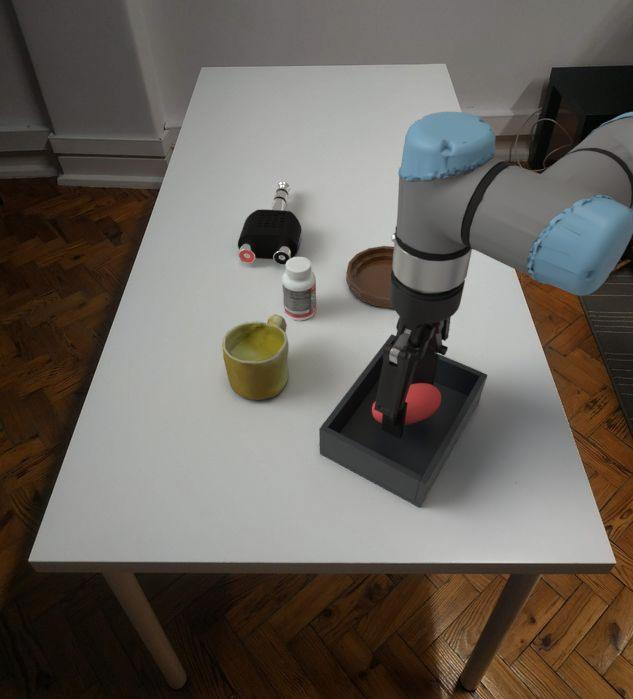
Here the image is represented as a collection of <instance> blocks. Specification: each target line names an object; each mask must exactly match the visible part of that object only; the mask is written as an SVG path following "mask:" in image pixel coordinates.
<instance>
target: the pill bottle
mask: <svg viewBox="0 0 633 699" xmlns="http://www.w3.org/2000/svg"><path fill="white" fill-rule="evenodd" d="M281 285H282V288H281V289H282V299H283V311H284V314H285V315H286V316H287V318H289V319H291V320H294V321H298V322H299V321H306V320H309V319H311V318H312V317H313V316H314V315H315V314H316V311H317V278H316V275H315V272H314V271H312V263H311V261H310V259H308V258H307V257H305V256H294V257H293V258H291V259H289V260H288V261H287V262H286V265H285V271H284V272H283V274H282V277H281Z"/></svg>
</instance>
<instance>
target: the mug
mask: <svg viewBox="0 0 633 699" xmlns="http://www.w3.org/2000/svg"><path fill="white" fill-rule="evenodd" d="M287 326H288V324H287V321H286V319H285V318H284V317H283V316H282V315H278V314H276V313H274V314H272V315H271V316H269V318H268V319H267V322H263V321H246V322H243V323H239V324H238V325H235V326H234V327H232V328H231V329H229V330H228V331H227V332H226V333H225V334H224V335H223V338H222V344H221V345H222V358H223V361H224V366H225V370H226V374H227V379H228V382H229V385H230V387H231V389H232V390H233V391H234V393H235V394H237V395H238V396H239V397H241V398H244V399H246V400H255V401H261V400H266V399H271V398H274V397H276V396H277V395H279V394H280V393H281V391H283V389H284V388H285V386H286V384H287V382H288V378H289V371H288V370H289V369H288V359H289V340H288V336H287V332H286V331H287Z"/></svg>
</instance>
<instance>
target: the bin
mask: <svg viewBox="0 0 633 699" xmlns="http://www.w3.org/2000/svg"><path fill="white" fill-rule="evenodd" d="M395 337H396V335H395V334H393V333H391V334H390V335H389V337H388V338H387V339H386V340H385V343H383V345H382V346H381V347H380V349H379V350H378V351H377V353H375V355H374V357H373V358H372V359H371V360H370V362H369V363H368V364H367V365H366V367H365V368H364V369H363V371H362V372H361V373H360V374H359V376H358V377H357V378H356V380H355V381H354V383H353V384H352V385H351V387H350V388H349V389H348V391H347V392H346V393H345V394H344V396H343V397H342V399H341V400H340V401H339V402H338V403H337V405H336V406H335V408H334V409H333V410H332V412H331V413H330V414H329V415H328V417H327V418H326V420H325V421H324V422H323V423H322V425H320V427H319V429H318V430H319V432H318V434H319V435H318V437H319V454H320V455H321V456H323V457H325V458H327V459H328V460H330V461H332V462H334V463H336V464H338V465H340V466H342V467H344V468H345V469H347V470H349V471H351V472H353V473H354V474H356V475H358V476H360V477H362V478H364V479H365V480H367V481H369V482H371V483H373V484H374V485H376V486H379V487H380V488H381V489H384V490H386V491H387V492H389V493H392V494H393V495H395V496H397V497H398V498H400V499H402V500H404V501H406V502H408V503H410V504H411V505H414V506H415V507H418V509H419V508H421V507H422V505H423V504H424V501H425V500H426V499H427V496H428V494H429V492H430V491H431V489H432V487H433V486H434V484H435V482H436V479H437V478H438V476H439V475H440V473H441V471H442V469H443V467H444V465H445V463H446V462H447V460H448V458H449V456H450V454H451V452H452V451H453V449H454V448H455V445H456V444H457V442H458V440H459V439H460V436H461V435H462V433H463V431H464V429H465V427H466V426H467V424H468V422H469V420H470V418H471V417H472V415H473V413H474V411H475V409H476V408H477V406H478V404H479V402H480V401H481V396H482V394H483V390H484V387H485V384H486V382H487V379H488V374H487V373H485V372H483V371H481V370H478V369H475V368H473V367H471V366H468V365H466V364H464V363H461V362H459V361H456V360H454V359H451V358H449V357H447V356H446V355H442V354H439V353H437V355H439V358H438V363H437V368H436V374H435V379H434V384H433V386H435V387H436V388H437V389H438V390H439V391H440V393H441V404H440V407H439V408H438V410H437V411H436V412H435V413H434V414H433V415H431V416H430V417H428V418H426V419H424V420H422V421H419V422H416V423H412V424H408V425H404V431H403V435H402V437H401V439H399V438H397V437H395V436H393V435H391V434H389V433H387V432H385V431H383V430H381V427H382V423H380V422H378V421H377V420H375V418H374V417H373V414H372V406H373V404H374V402H375V401H376V397H377V392H378V386H379V381H380V376H381V370H382V365H383V348H384V346H385V345H386V344H387V343H389V344H391V345H393V344H394V341H395ZM407 347H410V346H408V345H407ZM410 348H412V349H415V350H417V351H418V349H419V348H413V347H410ZM412 381H413V378H412ZM412 381H411V384H410V385H412Z"/></svg>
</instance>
